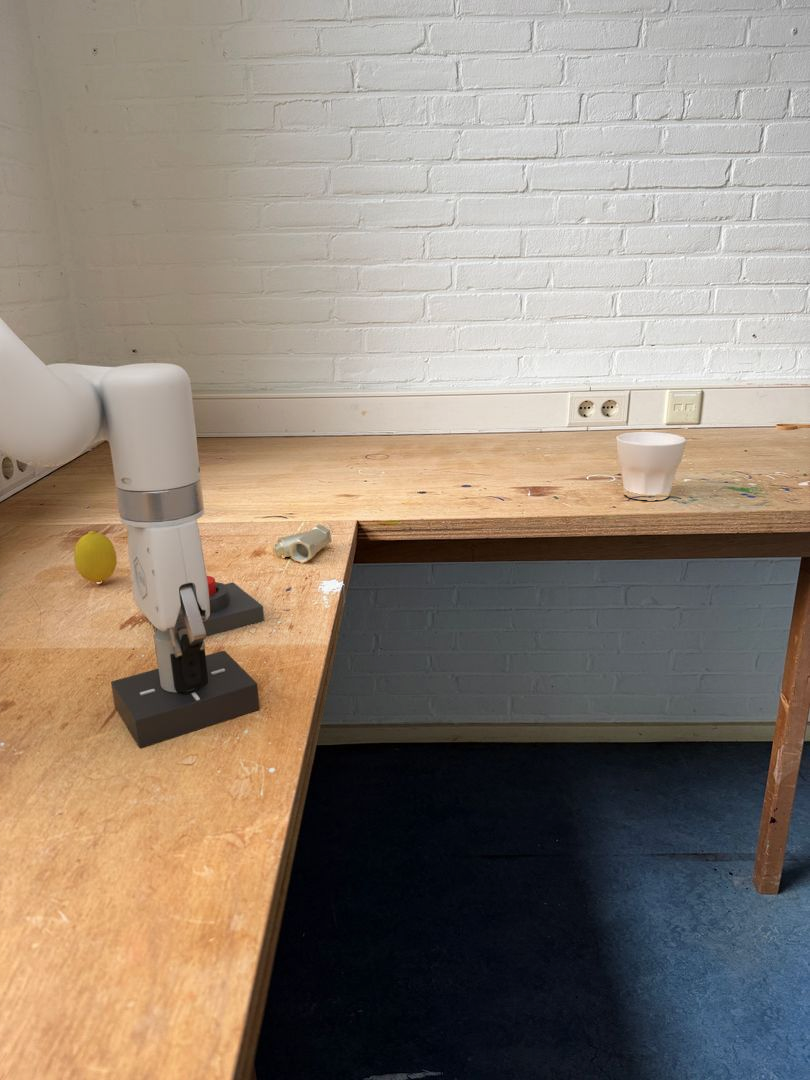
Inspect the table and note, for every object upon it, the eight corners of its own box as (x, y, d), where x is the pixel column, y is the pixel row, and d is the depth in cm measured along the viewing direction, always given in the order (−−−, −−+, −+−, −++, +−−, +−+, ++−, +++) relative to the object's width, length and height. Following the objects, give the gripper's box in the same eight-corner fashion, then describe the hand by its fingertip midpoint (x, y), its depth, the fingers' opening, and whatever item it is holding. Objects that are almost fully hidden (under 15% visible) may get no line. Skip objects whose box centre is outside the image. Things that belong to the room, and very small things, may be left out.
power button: (192, 601, 98) (190, 588, 97) (182, 592, 100) (181, 579, 100) (220, 594, 99) (219, 581, 99) (210, 586, 102) (209, 573, 102)
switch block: (170, 647, 94) (166, 615, 93) (145, 618, 102) (141, 589, 101) (264, 622, 100) (261, 592, 99) (234, 597, 108) (231, 569, 107)
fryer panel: (139, 748, 74) (135, 718, 73) (114, 707, 81) (110, 679, 80) (260, 709, 80) (257, 681, 79) (227, 674, 87) (224, 648, 86)
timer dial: (212, 684, 79) (206, 631, 77) (168, 697, 77) (161, 642, 75) (197, 667, 82) (191, 615, 81) (155, 679, 80) (147, 626, 78)
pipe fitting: (271, 564, 121) (312, 564, 119) (267, 539, 120) (308, 539, 118) (293, 547, 128) (332, 547, 126) (290, 524, 127) (329, 524, 125)
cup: (690, 503, 146) (696, 444, 142) (622, 505, 146) (626, 445, 142) (668, 486, 157) (673, 431, 154) (605, 487, 157) (608, 432, 154)
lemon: (123, 586, 113) (116, 532, 110) (82, 594, 110) (73, 539, 108) (115, 574, 117) (108, 522, 115) (75, 582, 115) (67, 529, 112)
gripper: (97, 488, 78) (122, 655, 84) (146, 531, 65) (172, 726, 71) (172, 477, 82) (191, 637, 88) (233, 515, 69) (251, 701, 75)
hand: (182, 675), depth 79 cm, fingers closed on timer dial, 4 cm apart
